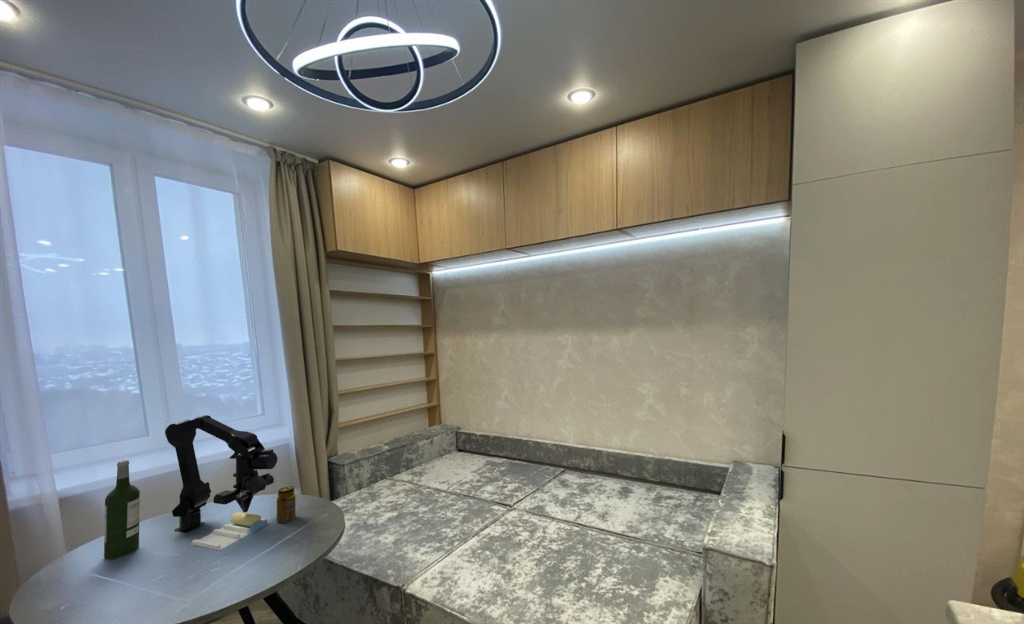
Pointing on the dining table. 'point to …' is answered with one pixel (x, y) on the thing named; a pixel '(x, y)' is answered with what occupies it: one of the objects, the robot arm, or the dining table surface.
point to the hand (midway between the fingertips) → (245, 512)
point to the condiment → (286, 505)
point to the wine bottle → (121, 516)
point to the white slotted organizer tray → (227, 535)
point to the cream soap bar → (245, 519)
